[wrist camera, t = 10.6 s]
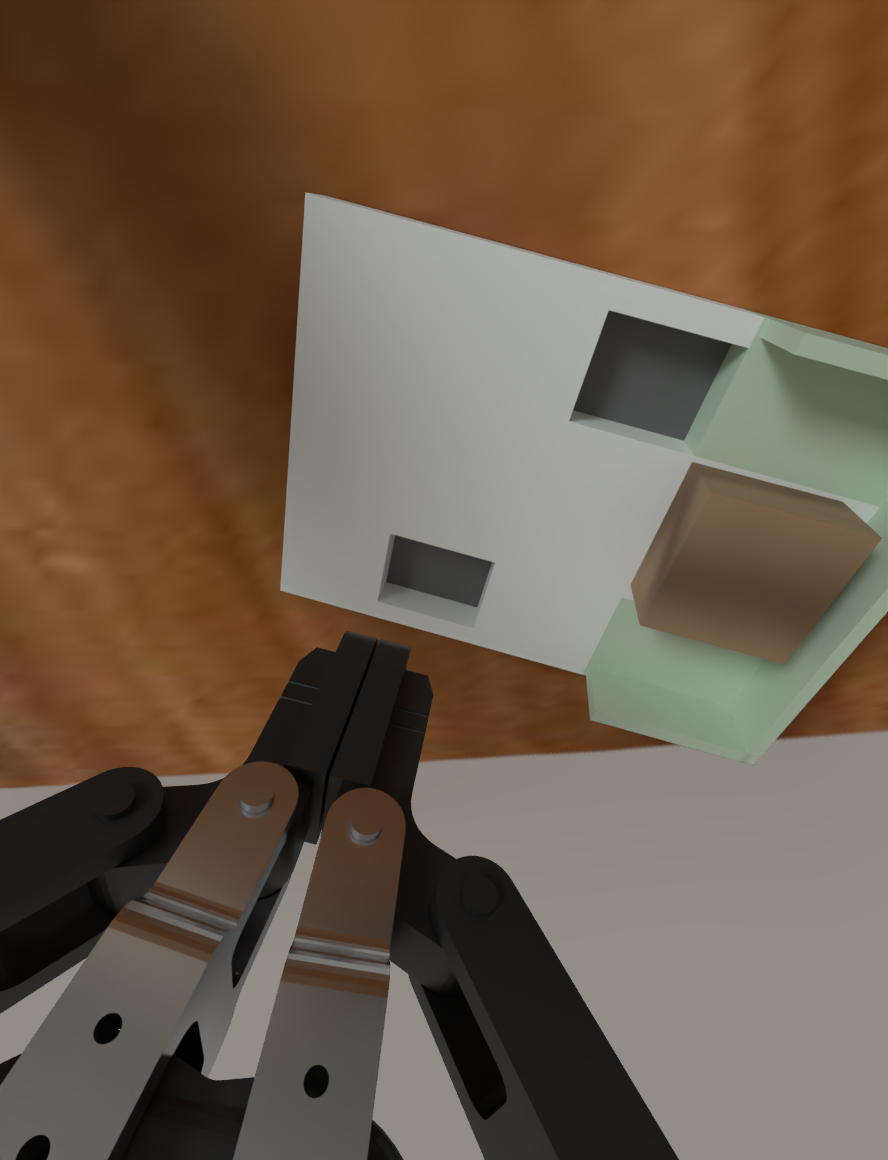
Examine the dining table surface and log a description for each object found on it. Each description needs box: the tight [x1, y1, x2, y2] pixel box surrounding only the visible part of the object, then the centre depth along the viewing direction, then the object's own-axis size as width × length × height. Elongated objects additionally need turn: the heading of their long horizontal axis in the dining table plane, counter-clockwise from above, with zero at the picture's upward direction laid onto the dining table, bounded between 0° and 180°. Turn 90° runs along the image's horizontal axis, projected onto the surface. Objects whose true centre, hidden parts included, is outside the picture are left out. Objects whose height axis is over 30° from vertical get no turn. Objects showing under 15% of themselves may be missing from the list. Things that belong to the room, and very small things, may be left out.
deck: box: [280, 192, 888, 765], centre depth 23 cm, size 17×24×5 cm
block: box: [631, 462, 882, 664], centre depth 22 cm, size 6×6×3 cm
